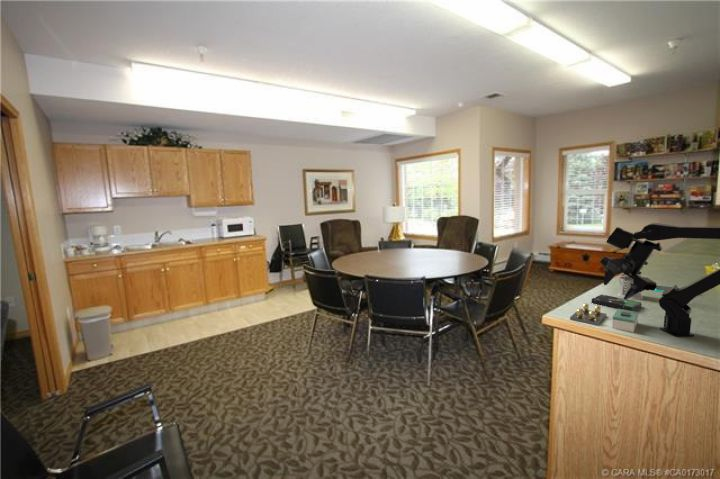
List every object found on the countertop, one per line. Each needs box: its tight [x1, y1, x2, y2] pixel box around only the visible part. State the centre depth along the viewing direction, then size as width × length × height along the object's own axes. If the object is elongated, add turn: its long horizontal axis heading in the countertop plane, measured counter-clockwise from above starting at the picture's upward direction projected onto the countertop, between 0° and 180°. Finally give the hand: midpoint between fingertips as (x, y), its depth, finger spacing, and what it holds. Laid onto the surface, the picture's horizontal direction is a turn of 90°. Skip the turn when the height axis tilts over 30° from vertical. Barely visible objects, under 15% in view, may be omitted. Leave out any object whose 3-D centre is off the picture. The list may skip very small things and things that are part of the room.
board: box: [611, 309, 639, 333], centre depth 121 cm, size 11×6×5 cm, turn 135°
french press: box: [616, 242, 644, 300], centre depth 152 cm, size 10×12×25 cm
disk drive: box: [590, 294, 643, 312], centre depth 143 cm, size 10×3×15 cm
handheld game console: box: [653, 285, 673, 293], centre depth 160 cm, size 10×16×1 cm, turn 58°
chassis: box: [569, 303, 607, 326], centre depth 130 cm, size 13×9×4 cm
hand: (614, 291), depth 126 cm, fingers open, 9 cm apart
